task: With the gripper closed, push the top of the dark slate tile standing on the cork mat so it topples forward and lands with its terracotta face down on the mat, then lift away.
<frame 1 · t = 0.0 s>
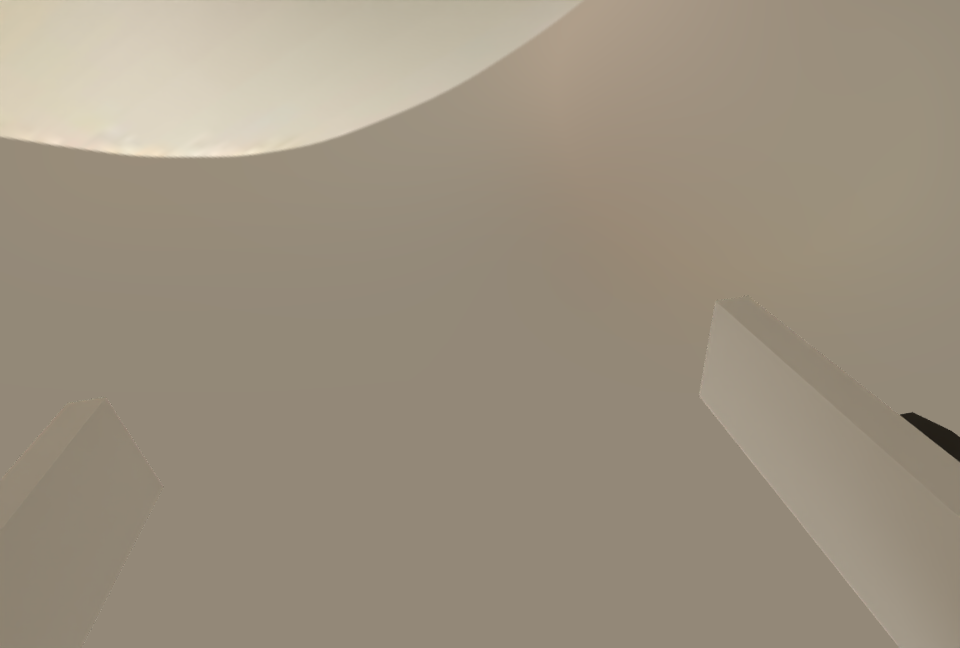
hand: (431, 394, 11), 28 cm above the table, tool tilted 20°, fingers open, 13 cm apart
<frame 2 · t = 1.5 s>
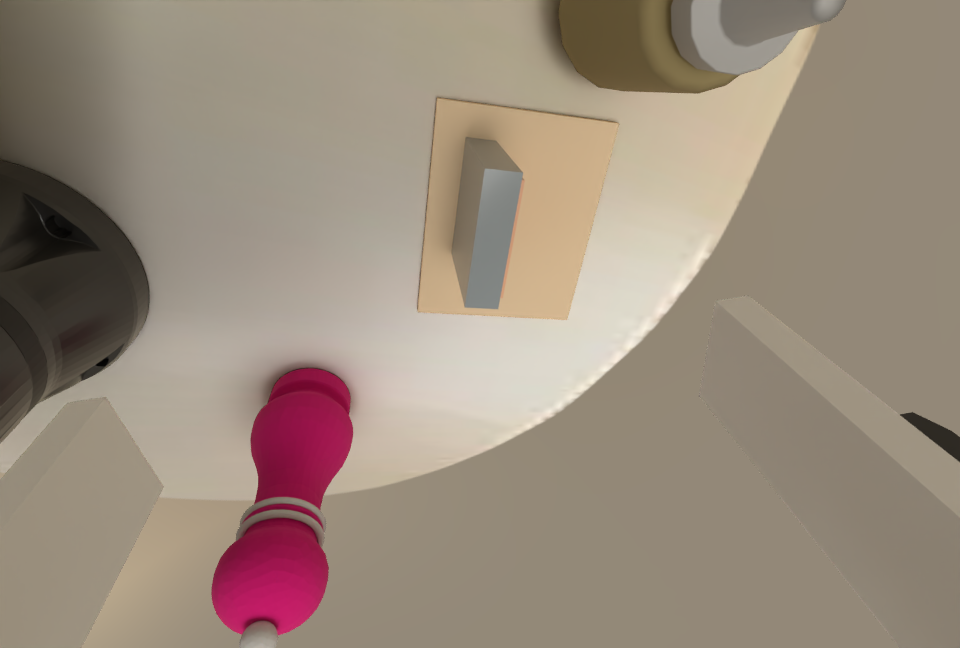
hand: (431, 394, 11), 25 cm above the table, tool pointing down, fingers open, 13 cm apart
mat: (509, 221, 36), on the table
pepper mill: (312, 396, 41), on the table
squeeze bottle: (605, 9, 30), on the table
tile: (472, 199, 34), point 1 cm above the table, touching mat
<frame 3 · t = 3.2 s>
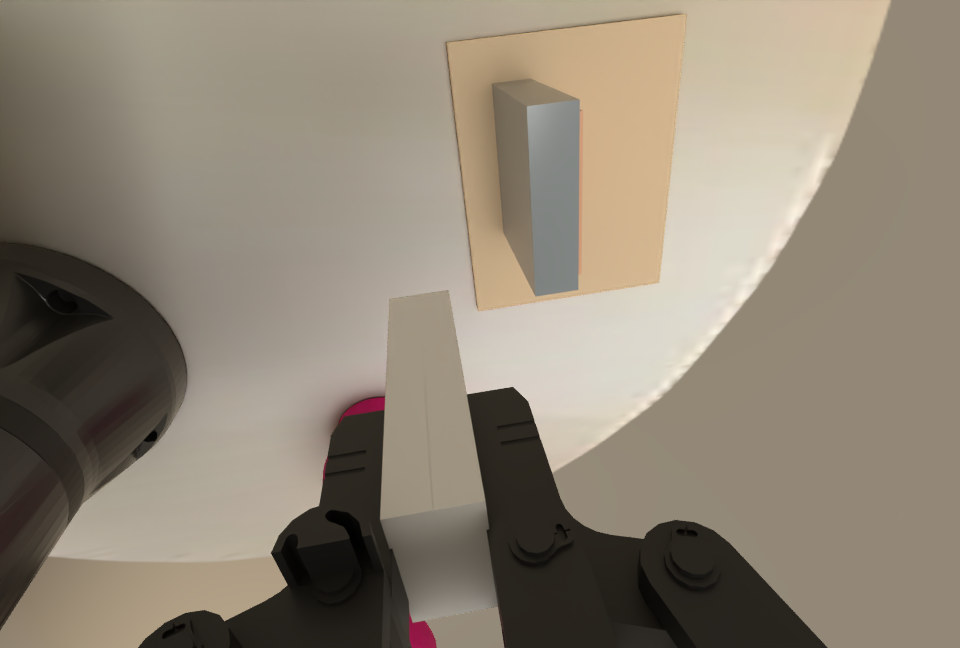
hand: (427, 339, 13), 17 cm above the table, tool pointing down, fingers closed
mat: (566, 178, 29), on the table
pepper mill: (381, 427, 37), on the table
tile: (516, 161, 27), point 1 cm above the table, touching mat
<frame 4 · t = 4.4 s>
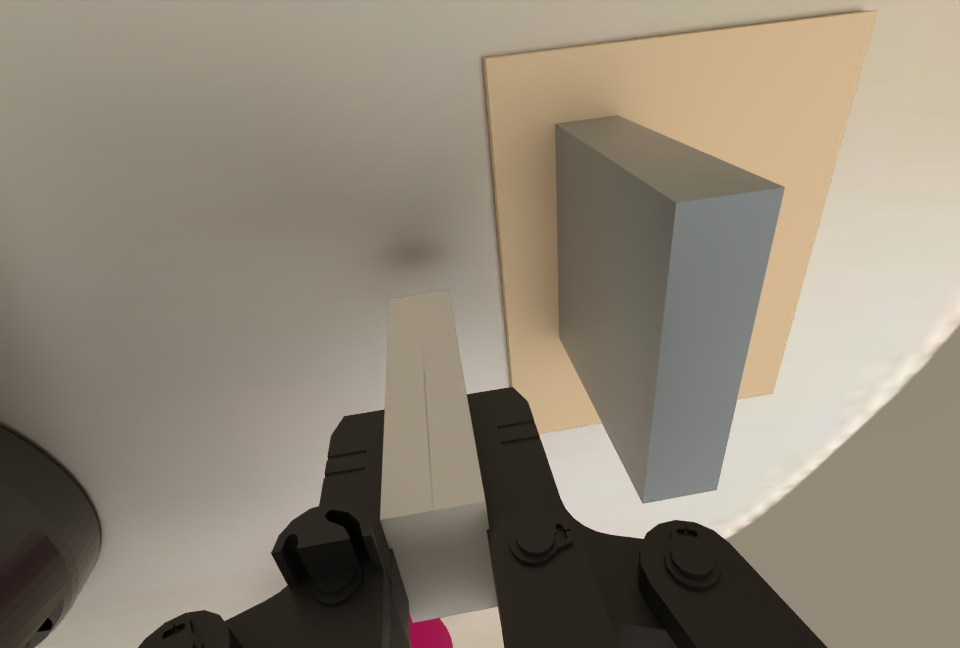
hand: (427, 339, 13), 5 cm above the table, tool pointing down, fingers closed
mat: (655, 258, 19), on the table
pepper mill: (379, 572, 27), on the table
tile: (584, 239, 18), point 1 cm above the table, touching mat
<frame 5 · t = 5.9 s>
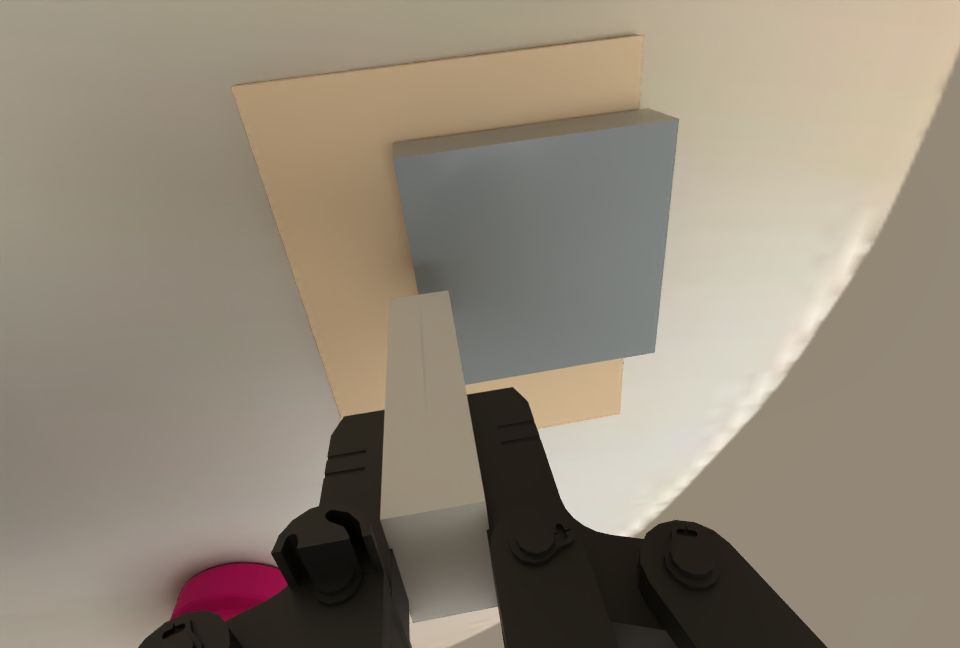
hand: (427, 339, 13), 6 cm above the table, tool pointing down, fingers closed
mat: (469, 282, 19), on the table
pepper mill: (246, 594, 27), on the table
tile: (416, 276, 16), point 2 cm above the table, tilted 90°, touching mat
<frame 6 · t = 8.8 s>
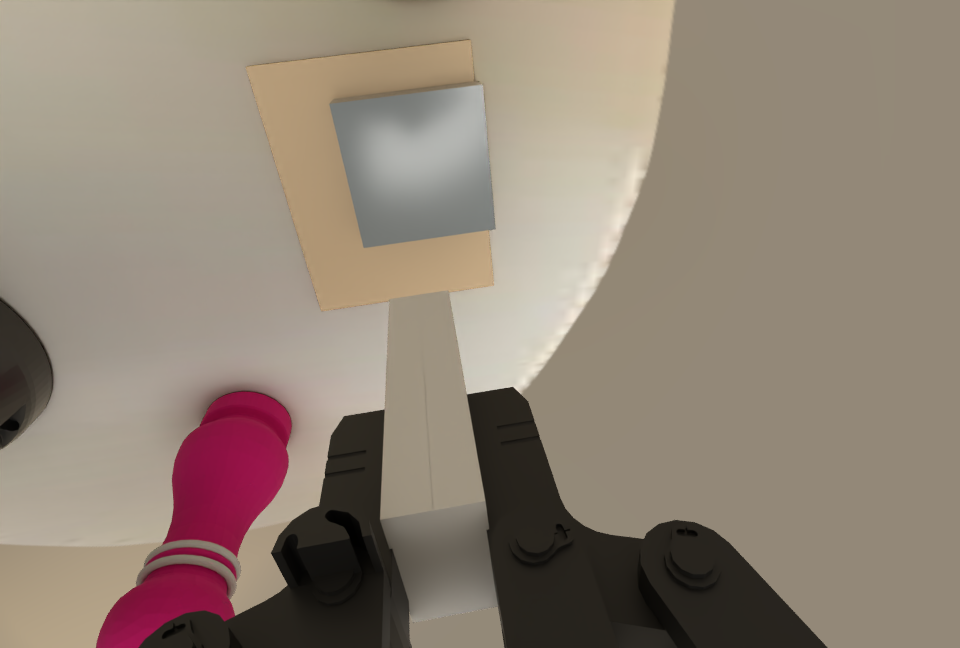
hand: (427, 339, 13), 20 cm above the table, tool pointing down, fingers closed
mat: (387, 188, 31), on the table
pepper mill: (250, 420, 39), on the table
tile: (349, 176, 29), point 2 cm above the table, tilted 90°, touching mat
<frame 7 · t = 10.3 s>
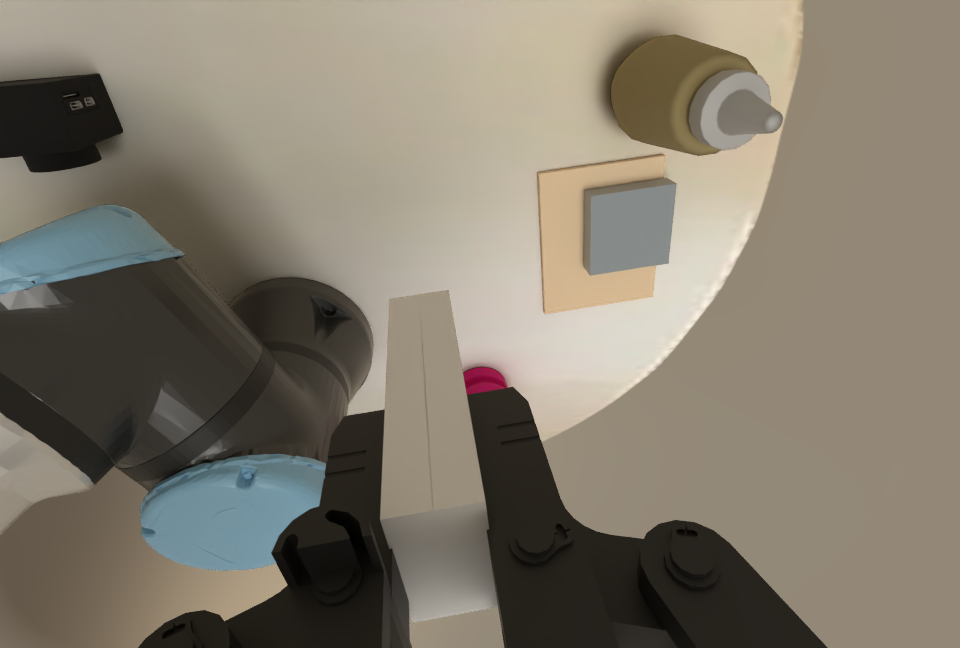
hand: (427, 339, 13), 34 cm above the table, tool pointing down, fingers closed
mat: (598, 238, 50), on the table
pepper mill: (479, 387, 58), on the table
squeeze bottle: (641, 86, 44), on the table
tile: (587, 233, 48), point 2 cm above the table, tilted 90°, touching mat
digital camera: (48, 117, 39), on the table
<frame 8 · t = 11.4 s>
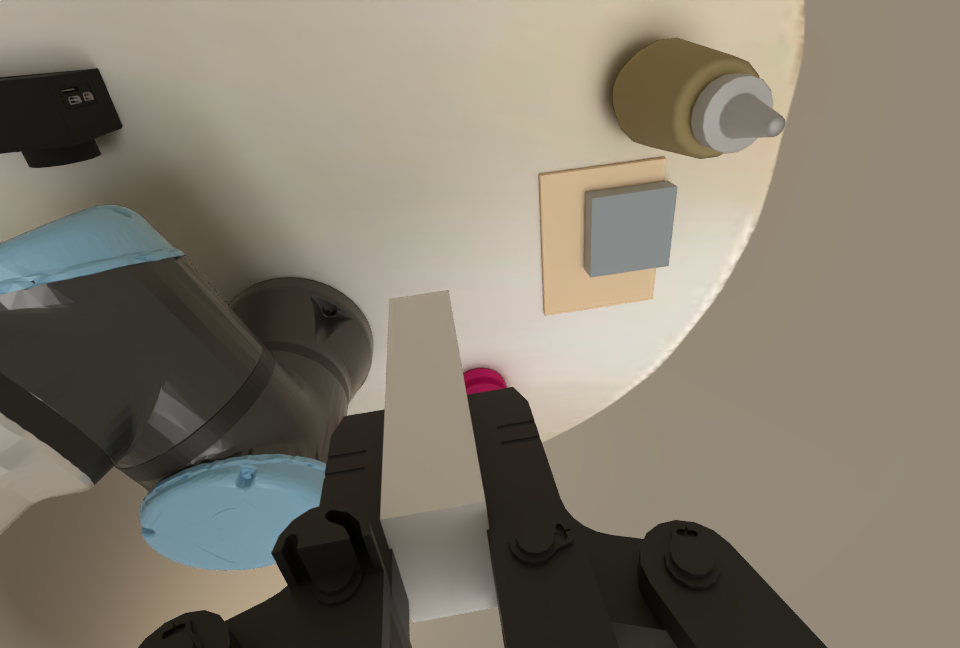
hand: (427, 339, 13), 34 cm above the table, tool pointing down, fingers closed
mat: (599, 240, 51), on the table
pepper mill: (478, 388, 59), on the table
squeeze bottle: (643, 89, 44), on the table
tile: (587, 236, 48), point 2 cm above the table, tilted 90°, touching mat
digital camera: (47, 113, 39), on the table
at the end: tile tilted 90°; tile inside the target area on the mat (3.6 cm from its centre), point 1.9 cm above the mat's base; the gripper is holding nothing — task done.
